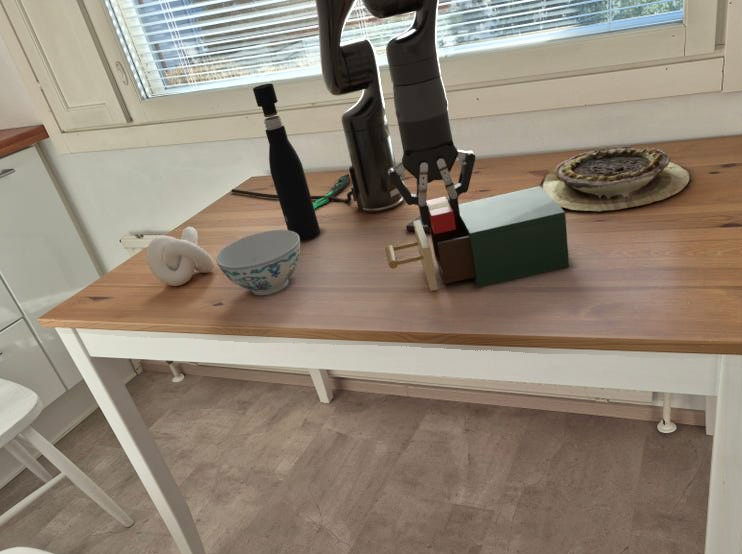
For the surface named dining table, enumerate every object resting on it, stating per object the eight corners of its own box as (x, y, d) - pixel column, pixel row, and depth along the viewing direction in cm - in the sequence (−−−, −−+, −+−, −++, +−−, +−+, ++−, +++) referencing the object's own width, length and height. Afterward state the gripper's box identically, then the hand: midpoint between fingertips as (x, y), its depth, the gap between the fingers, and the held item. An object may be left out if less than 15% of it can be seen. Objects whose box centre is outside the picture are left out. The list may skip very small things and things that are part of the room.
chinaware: (273, 311, 113) (260, 269, 109) (213, 302, 121) (198, 263, 117) (327, 271, 123) (316, 231, 119) (267, 265, 131) (255, 228, 127)
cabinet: (477, 287, 106) (469, 233, 101) (462, 254, 117) (454, 205, 113) (569, 266, 105) (565, 211, 101) (544, 236, 117) (539, 185, 112)
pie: (702, 160, 133) (703, 134, 130) (669, 214, 114) (669, 185, 112) (565, 163, 148) (563, 140, 145) (516, 211, 129) (513, 186, 127)
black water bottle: (326, 229, 142) (285, 79, 127) (310, 241, 137) (266, 88, 122) (301, 229, 145) (258, 83, 130) (284, 242, 140) (239, 92, 125)
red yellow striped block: (456, 229, 104) (453, 210, 102) (434, 234, 104) (431, 215, 102) (448, 213, 110) (445, 196, 108) (427, 218, 110) (424, 200, 108)
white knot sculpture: (168, 269, 140) (152, 229, 135) (224, 258, 139) (209, 217, 135) (154, 293, 130) (136, 250, 126) (214, 281, 130) (198, 237, 125)
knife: (345, 173, 171) (362, 172, 169) (345, 176, 172) (362, 175, 170) (296, 209, 155) (315, 208, 152) (297, 212, 155) (316, 211, 153)
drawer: (396, 298, 106) (386, 256, 102) (389, 267, 116) (380, 228, 113) (514, 272, 106) (509, 228, 102) (497, 243, 116) (491, 203, 112)
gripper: (464, 96, 101) (480, 206, 110) (373, 117, 101) (395, 225, 110) (474, 105, 95) (490, 221, 103) (376, 128, 95) (400, 241, 104)
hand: (441, 222), depth 107 cm, fingers closed on red yellow striped block, 3 cm apart
